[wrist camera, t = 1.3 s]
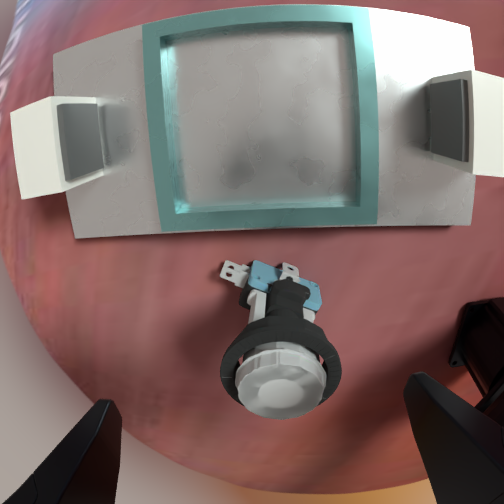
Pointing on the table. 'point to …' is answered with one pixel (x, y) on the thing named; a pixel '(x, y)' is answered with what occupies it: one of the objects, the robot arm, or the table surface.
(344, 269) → the table surface
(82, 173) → the white padded clamp jaws
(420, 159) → the teal-edged white tray
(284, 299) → the push button
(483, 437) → the robot arm
